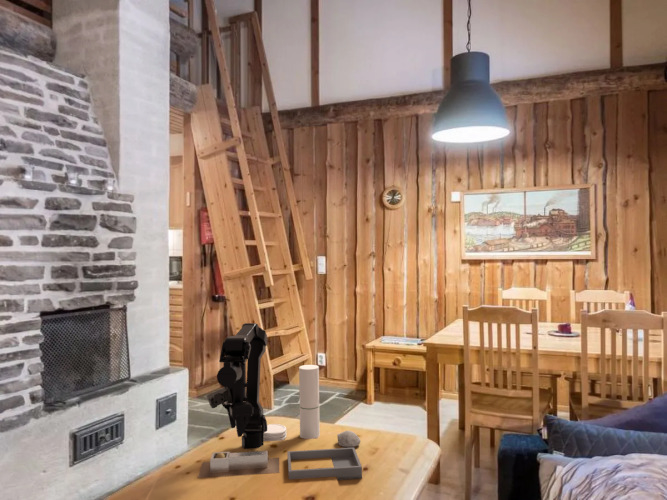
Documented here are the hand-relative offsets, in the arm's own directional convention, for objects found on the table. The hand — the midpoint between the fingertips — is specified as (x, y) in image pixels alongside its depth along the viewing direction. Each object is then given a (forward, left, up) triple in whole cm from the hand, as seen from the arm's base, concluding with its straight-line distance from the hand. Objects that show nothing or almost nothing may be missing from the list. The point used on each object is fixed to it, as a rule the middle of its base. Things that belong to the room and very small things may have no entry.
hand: (236, 432), depth 154 cm
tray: (-24, +10, -14) cm, 30 cm away
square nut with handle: (-2, -4, -13) cm, 13 cm away
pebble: (-42, -3, -14) cm, 44 cm away
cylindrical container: (-35, -18, -14) cm, 41 cm away
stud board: (-2, -4, -14) cm, 14 cm away
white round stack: (-23, -24, -14) cm, 36 cm away
